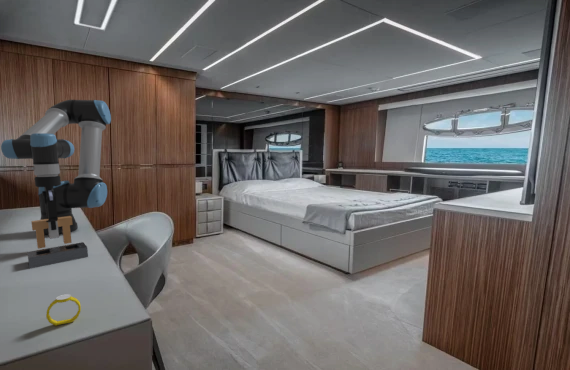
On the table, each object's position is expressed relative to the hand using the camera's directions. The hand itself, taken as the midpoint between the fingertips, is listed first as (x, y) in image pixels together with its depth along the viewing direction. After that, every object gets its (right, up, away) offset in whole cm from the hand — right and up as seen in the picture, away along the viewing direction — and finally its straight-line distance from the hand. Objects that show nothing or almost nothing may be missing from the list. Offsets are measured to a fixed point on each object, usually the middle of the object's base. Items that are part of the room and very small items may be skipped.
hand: (54, 236), depth 116 cm
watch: (+40, -11, -49) cm, 64 cm away
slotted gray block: (+9, -6, -10) cm, 15 cm away
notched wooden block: (0, -3, 0) cm, 3 cm away
